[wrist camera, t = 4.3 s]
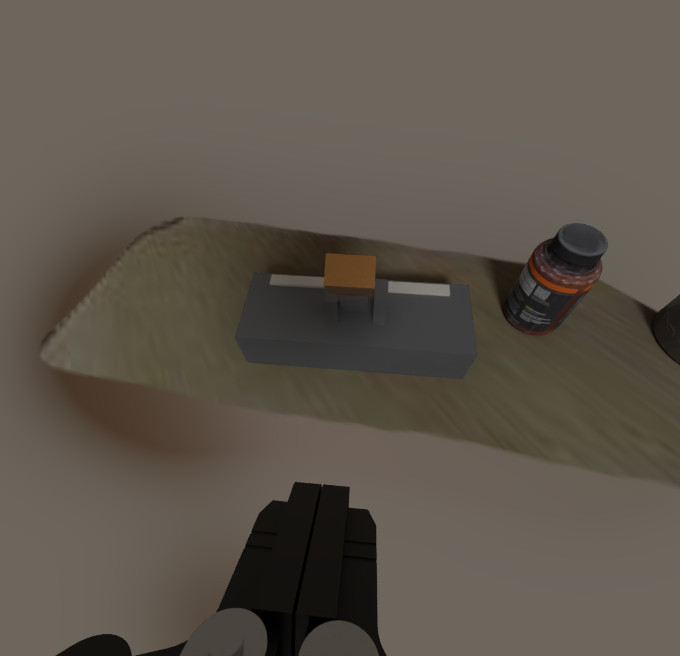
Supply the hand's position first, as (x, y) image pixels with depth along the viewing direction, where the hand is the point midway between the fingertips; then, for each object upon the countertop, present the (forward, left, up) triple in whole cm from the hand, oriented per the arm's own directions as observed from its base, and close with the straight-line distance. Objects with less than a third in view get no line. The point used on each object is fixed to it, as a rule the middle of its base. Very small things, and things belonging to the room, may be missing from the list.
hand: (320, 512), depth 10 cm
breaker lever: (0, -19, -16) cm, 25 cm away
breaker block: (0, -19, -22) cm, 29 cm away
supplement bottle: (-19, -24, -22) cm, 38 cm away
